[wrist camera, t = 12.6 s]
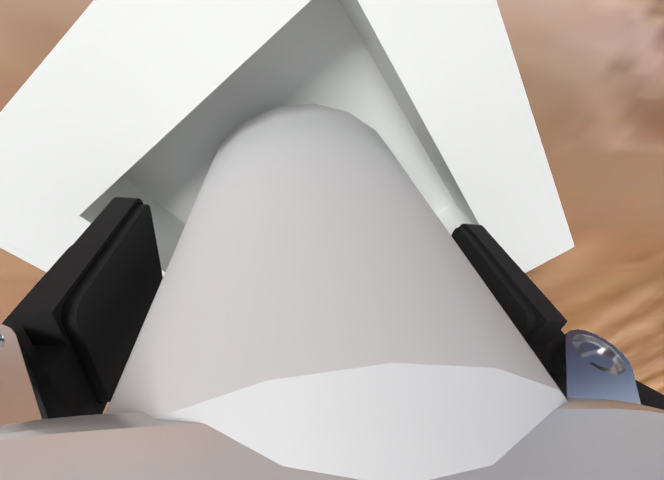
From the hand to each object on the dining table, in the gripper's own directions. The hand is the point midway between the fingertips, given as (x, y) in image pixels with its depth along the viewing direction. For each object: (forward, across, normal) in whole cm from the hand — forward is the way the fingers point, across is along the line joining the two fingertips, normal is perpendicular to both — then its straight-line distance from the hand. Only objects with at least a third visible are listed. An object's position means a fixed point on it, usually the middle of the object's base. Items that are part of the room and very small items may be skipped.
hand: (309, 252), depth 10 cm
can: (+4, 0, 0) cm, 4 cm away
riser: (+7, 0, 0) cm, 7 cm away
